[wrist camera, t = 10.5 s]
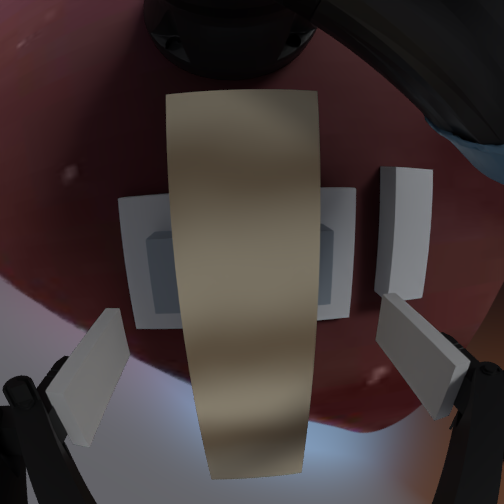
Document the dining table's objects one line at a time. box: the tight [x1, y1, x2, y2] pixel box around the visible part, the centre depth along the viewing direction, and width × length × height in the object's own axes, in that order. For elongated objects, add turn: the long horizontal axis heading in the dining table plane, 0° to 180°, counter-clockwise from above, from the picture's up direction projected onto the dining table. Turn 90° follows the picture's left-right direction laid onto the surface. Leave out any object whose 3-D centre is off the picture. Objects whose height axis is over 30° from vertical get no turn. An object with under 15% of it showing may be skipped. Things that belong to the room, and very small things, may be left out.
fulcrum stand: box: [118, 187, 356, 329], centre depth 24 cm, size 12×20×8 cm, turn 92°
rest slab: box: [374, 166, 433, 300], centre depth 27 cm, size 12×4×3 cm, turn 2°
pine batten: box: [166, 89, 320, 479], centre depth 17 cm, size 22×6×6 cm, turn 2°
